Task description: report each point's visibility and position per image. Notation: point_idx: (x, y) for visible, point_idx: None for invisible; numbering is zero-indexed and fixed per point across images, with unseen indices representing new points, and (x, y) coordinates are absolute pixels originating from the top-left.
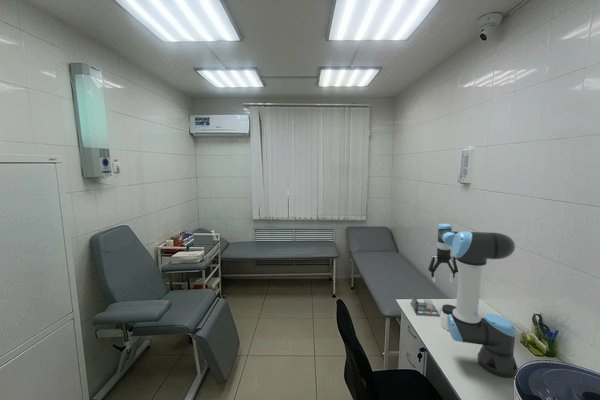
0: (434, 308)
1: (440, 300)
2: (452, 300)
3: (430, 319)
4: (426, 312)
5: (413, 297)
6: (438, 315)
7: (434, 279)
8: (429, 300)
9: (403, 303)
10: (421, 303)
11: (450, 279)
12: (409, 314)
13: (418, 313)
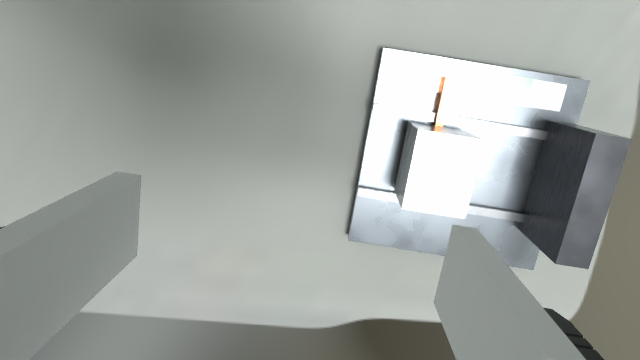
0: (375, 153)
1: (241, 296)
2: (142, 289)
3: (490, 2)
4: (489, 85)
5: (589, 237)
6: (393, 49)
7: (490, 256)
8: (422, 195)
9: (584, 272)
10: (446, 242)
11: (112, 250)
12: (634, 94)
13: (569, 77)
